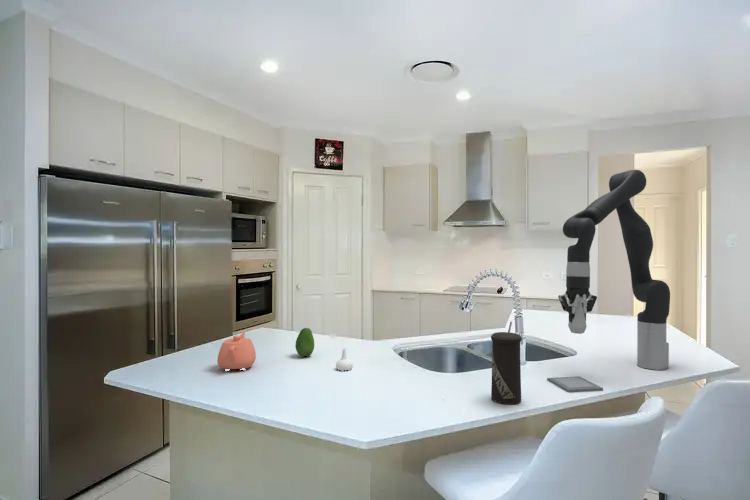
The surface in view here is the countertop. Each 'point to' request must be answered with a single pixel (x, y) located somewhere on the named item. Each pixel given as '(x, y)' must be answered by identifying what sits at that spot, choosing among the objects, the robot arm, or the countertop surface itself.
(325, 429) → the countertop surface
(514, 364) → the container
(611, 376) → the countertop surface
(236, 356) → the teapot
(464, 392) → the countertop surface
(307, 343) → the fruit
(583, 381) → the coaster
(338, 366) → the garlic bulb
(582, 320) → the grey rounded lobed piece
